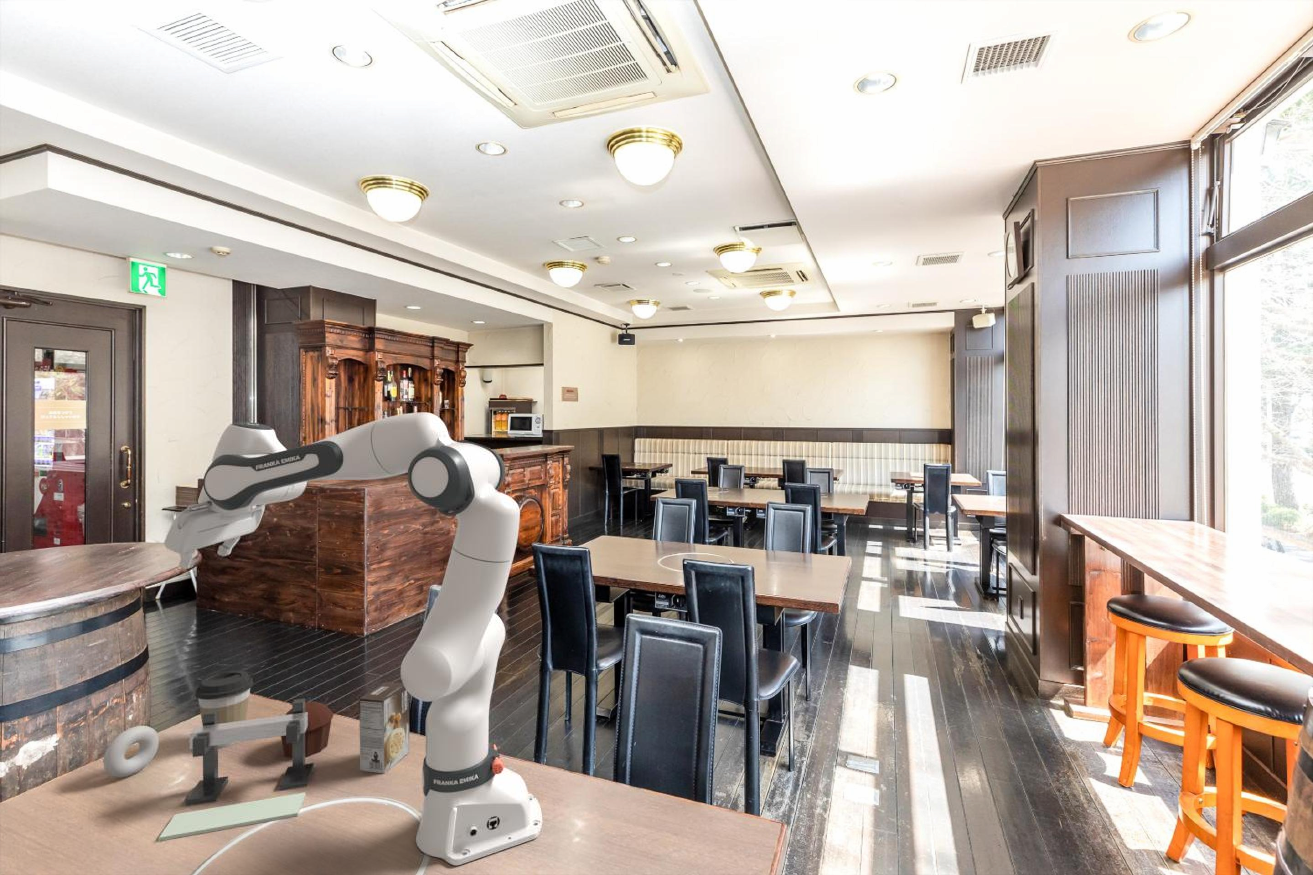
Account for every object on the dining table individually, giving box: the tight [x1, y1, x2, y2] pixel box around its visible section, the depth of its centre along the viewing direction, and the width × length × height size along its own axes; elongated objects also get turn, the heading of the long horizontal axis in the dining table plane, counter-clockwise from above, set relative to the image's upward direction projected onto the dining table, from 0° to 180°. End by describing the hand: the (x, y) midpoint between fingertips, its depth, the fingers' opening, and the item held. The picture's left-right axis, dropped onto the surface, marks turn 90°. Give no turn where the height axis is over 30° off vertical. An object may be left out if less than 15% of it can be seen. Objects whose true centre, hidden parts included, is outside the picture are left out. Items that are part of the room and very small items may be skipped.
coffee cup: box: [194, 670, 254, 749], centre depth 144 cm, size 11×11×15 cm
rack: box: [185, 698, 315, 807], centre depth 125 cm, size 21×8×16 cm, turn 109°
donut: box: [102, 725, 160, 778], centre depth 130 cm, size 10×4×10 cm, turn 161°
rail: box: [189, 712, 308, 750], centre depth 124 cm, size 20×3×3 cm, turn 109°
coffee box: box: [358, 681, 410, 774], centre depth 135 cm, size 9×6×16 cm
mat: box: [158, 792, 307, 842], centre depth 116 cm, size 22×7×1 cm, turn 109°
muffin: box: [280, 701, 334, 759], centre depth 141 cm, size 12×11×10 cm
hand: (205, 560), depth 122 cm, fingers open, 8 cm apart
